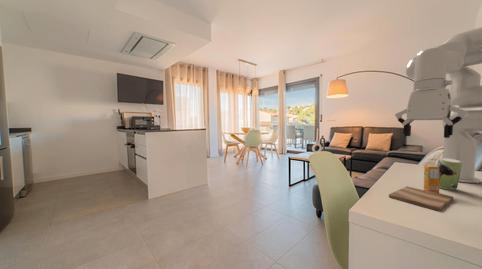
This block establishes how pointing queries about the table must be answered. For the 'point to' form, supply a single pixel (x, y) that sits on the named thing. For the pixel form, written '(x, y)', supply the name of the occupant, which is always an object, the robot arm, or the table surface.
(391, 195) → the walnut board
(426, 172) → the supplement box
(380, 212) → the table surface
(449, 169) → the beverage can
